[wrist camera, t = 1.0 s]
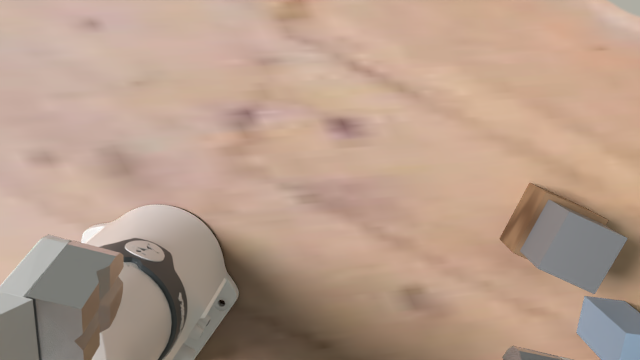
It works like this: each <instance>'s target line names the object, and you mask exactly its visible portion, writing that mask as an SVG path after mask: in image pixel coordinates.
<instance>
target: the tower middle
mask: <svg viewBox="0 0 640 360" xmlns="http://www.w3.org/2000/svg"><path fill="white" fill-rule="evenodd" d="M627 239H628V238H626V237H625V236H623V235H621V234H619V233H617V232H616V231H614V230H612V229H610V228H609V227H607V226H605V225H603V224H601V223H599V222H597V221H595V220H593V219H590V218H588V217H586V216H584V215H582V214H580V213H577V212H575V211H573V210H571V209H569V208H567V207H564V206H562V205H560V204H558V203H556V202H553V201H551V200H548V201H547V203H546V205H545V207H544V209H543V210H542V212H541V214H540V216H539V218H538V219H537V221H536V223H535V225H534V227H533V228H532V230H531V232H530V234H529V236H528V237H527V239H526V241H525V243H524V245H523V246H522V248H521V250H520V252H521V253H522V254H523V255H524V256H525V257H526V258H527V259H528V260H529V261H530V262H531V263H532V264H534V265H535V266H536V267H537V268H538V269H540V270H542V271H545V272H547V273H549V274H551V275H553V276H556V277H558V278H560V279H562V280H564V281H567V282H569V283H571V284H573V285H575V286H578V287H580V288H582V289H584V290H586V291H589V292H591V293H593V294H595V293H596V291H597V289H598V288H599V286H600V284H601V283H602V281H603V279H604V278H605V276H606V274H607V272H608V271H609V269H610V267H611V266H612V264H613V262H614V261H615V259H616V257H617V256H618V254H619V252H620V251H621V249H622V247H623V246H624V244H625V242H626V241H627Z"/></svg>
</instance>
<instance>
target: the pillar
mask: <svg viewBox="0 0 640 360" xmlns="http://www.w3.org/2000/svg"><path fill="white" fill-rule="evenodd" d="M577 334H578V335H579V336H580V337H581V338H582V339H583V340H584V341H585V343H586V344H587V345H588V346H589V347H590V348H591V349H592V350H593V351H594V352H595V353H596V355H597V356H598V357H599V358H600V359H601V360H640V313H639V312H638V311H637V310H635V309H634V308H633V307H632V306H630V305H629V304H628V303H627V302H625V301H620V300H612V299H604V298H597V297H589V296H585V297H584V301H583V306H582V310H581V315H580V319H579V324H578V328H577Z"/></svg>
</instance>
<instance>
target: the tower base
mask: <svg viewBox="0 0 640 360" xmlns="http://www.w3.org/2000/svg"><path fill="white" fill-rule="evenodd" d="M548 200H551V201H553V202H556V203H558V204H560V205H562V206H564V207H567V208H569V209H571V210H573V211H575V212H577V213H580V214H582V215H584V216H586V217H588V218H590V219H593V220H595V221H597V222H599V223H601V224H603V225H605V226H606V224H607V222H608V221H609V220H607V219H605V218H604V217H602V216H600V215H598V214H596V213H594V212H592V211H590V210H589V209H587V208H584V207H582V206H580V205H578V204H576V203H573V202H571V201H569V200H567V199H564V198H562V197H560V196H558V195H556V194H553V193H551V192H549V191H547V190H545V189H542V188H540V187H538V186H536V185H534V184H531V183H529V185H528V187H527V188H526V190H525V192H524V194H523V196H522V198H521V200H520V202H519V203H518V205H517V207H516V209H515V211H514V213H513V215H512V216H511V218H510V220H509V222H508V224H507V226H506V228H505V230H504V231H503V233H502V235H501V237H500V240H501V241H502V242H503V243H504V244H505V245H506V246H507V247H508V248H509V249H510V250H511V251H512V252H513V253H515V254H517V255H519V256H521V257H524V258H526V257H525V256H524V255H523V254H522V253H521V252H520V250H521V248H522V246H523V245H524V243H525V241H526V239H527V237H528V236H529V234H530V232H531V230H532V228H533V227H534V225H535V223H536V221H537V219H538V218H539V216H540V214H541V212H542V210H543V209H544V207H545V205H546V203H547V201H548ZM526 259H527V258H526Z"/></svg>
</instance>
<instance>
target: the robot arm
mask: <svg viewBox="0 0 640 360" xmlns="http://www.w3.org/2000/svg"><path fill="white" fill-rule="evenodd" d="M238 296H239V291H238V288H237V286H236V284H235V283H234V281H233V280H232V278H231V277H230V275H229V274H228V273H227V270H226V268H225V264H224V259H223V254H222V251H221V248H220V246H219V243H218V241H217V239H216V238H215V236H214V235H213V233H212V232H211V230H210V229H209V228H208V227H207V226H206V225H205V224H204V223H203V222H202V221H201V220H200V219H198V218H197V217H196V216H194V215H192V214H191V213H189V212H187V211H185V210H182V209H180V208H177V207H173V206H168V205H147V206H142V207H139V208H136V209H133V210H131V211H129V212H127V213H126V214H124V215H123V216H121V217H120V218H118V219H116V220H115V221H113V222H110V223H103V224H97V225H93V226H91V227H89V228H88V229H87V230H86V231H85V232H84V233H83V235H82V240H81V242H77V241H72V240H68V239H64V238H60V237H56V236H53V235H49V234H48V235H47V236H45V237H43V238H41V239H40V240H39V241H38V242H37V244H36V245H35V246H34V247H33V248H32V249H31V251H30V252H29V253H28V254H27V255H26V256H25V258H24V259H23V260H22V261H21V262H20V263H19V264H18V266H17V267H16V268H15V269H14V270H13V271H12V273H11V274H10V275H9V276H8V277H7V278H6V280H5V281H4V282H3V283H2V284H1V285H0V360H194V359H195V358H196V356H197V355H198V354H199V352H200V351H201V349H202V348H203V347H204V345H205V344H206V342H207V341H208V340H209V338H210V337H211V335H212V334H213V333H214V331H215V330H216V328H217V327H218V326H219V324H220V323H221V321H222V320H223V319H224V317H225V316H226V314H227V313H228V311H229V310H230V309H231V307H232V306H233V304H234V303H235V302H236V300H237V299H238ZM219 300H224V301H225V304H221V303H220V302H219ZM503 360H573V359H568V358H564V357H558V356H555V355H551V354H547V353H542V352H538V351H533V350H529V349H525V348H520V347H516V346H512V347H511V348H509V349H508V350H507V351H506V353H505V354H504V356H503Z"/></svg>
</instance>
